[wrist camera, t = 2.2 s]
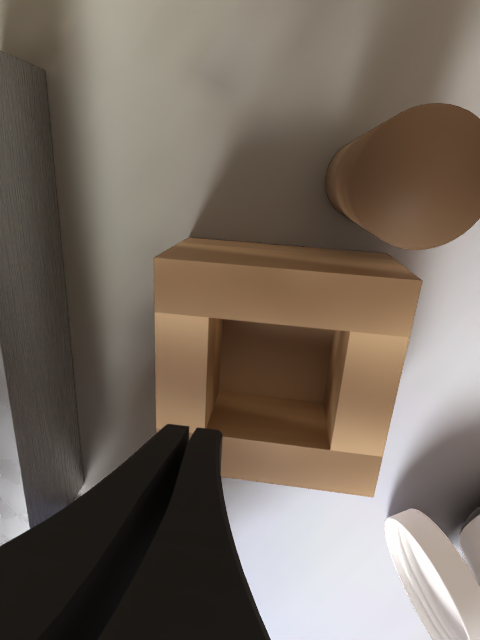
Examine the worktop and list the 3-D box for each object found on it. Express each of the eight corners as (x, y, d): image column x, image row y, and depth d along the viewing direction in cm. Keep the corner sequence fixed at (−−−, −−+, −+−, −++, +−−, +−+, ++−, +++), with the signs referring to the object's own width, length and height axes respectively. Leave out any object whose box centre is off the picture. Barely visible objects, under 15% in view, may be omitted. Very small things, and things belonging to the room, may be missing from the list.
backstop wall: (83, 484, 24) (34, 557, 20) (53, 479, 24) (-4, 551, 20) (45, 70, 17) (-51, 28, 12) (0, 68, 17) (-111, 26, 12)
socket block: (354, 425, 21) (373, 497, 16) (185, 404, 21) (156, 467, 17) (387, 253, 18) (422, 280, 13) (188, 237, 18) (153, 257, 14)
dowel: (395, 221, 17) (478, 254, 10) (320, 215, 17) (344, 244, 10) (411, 140, 16) (518, 106, 8) (330, 136, 16) (366, 100, 9)
